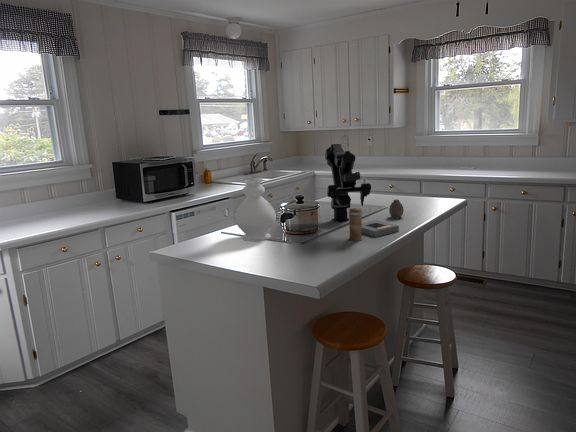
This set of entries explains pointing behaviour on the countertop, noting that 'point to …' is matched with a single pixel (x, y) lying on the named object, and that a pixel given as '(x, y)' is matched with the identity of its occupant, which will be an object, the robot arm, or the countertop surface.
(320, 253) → the countertop surface
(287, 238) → the countertop surface
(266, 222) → the decorative vase
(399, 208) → the vase
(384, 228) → the socket block
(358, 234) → the walnut peg
